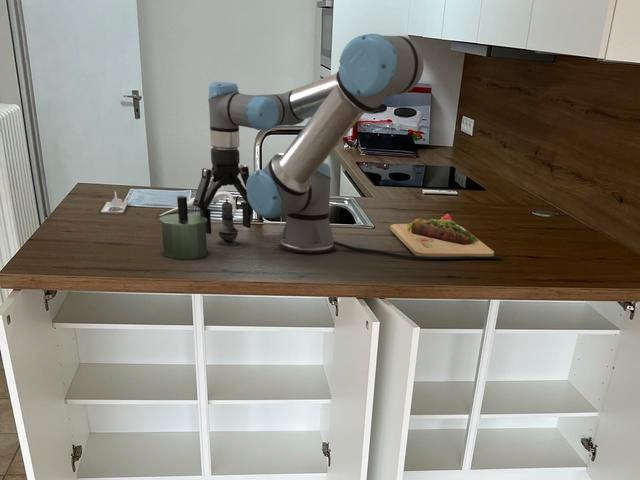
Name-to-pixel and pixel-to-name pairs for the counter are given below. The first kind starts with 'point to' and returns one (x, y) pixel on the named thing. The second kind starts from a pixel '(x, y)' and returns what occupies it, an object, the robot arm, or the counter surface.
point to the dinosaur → (217, 197)
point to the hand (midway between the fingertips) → (227, 229)
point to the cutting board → (439, 238)
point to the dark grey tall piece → (227, 226)
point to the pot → (184, 241)
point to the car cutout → (114, 206)
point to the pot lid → (182, 216)
